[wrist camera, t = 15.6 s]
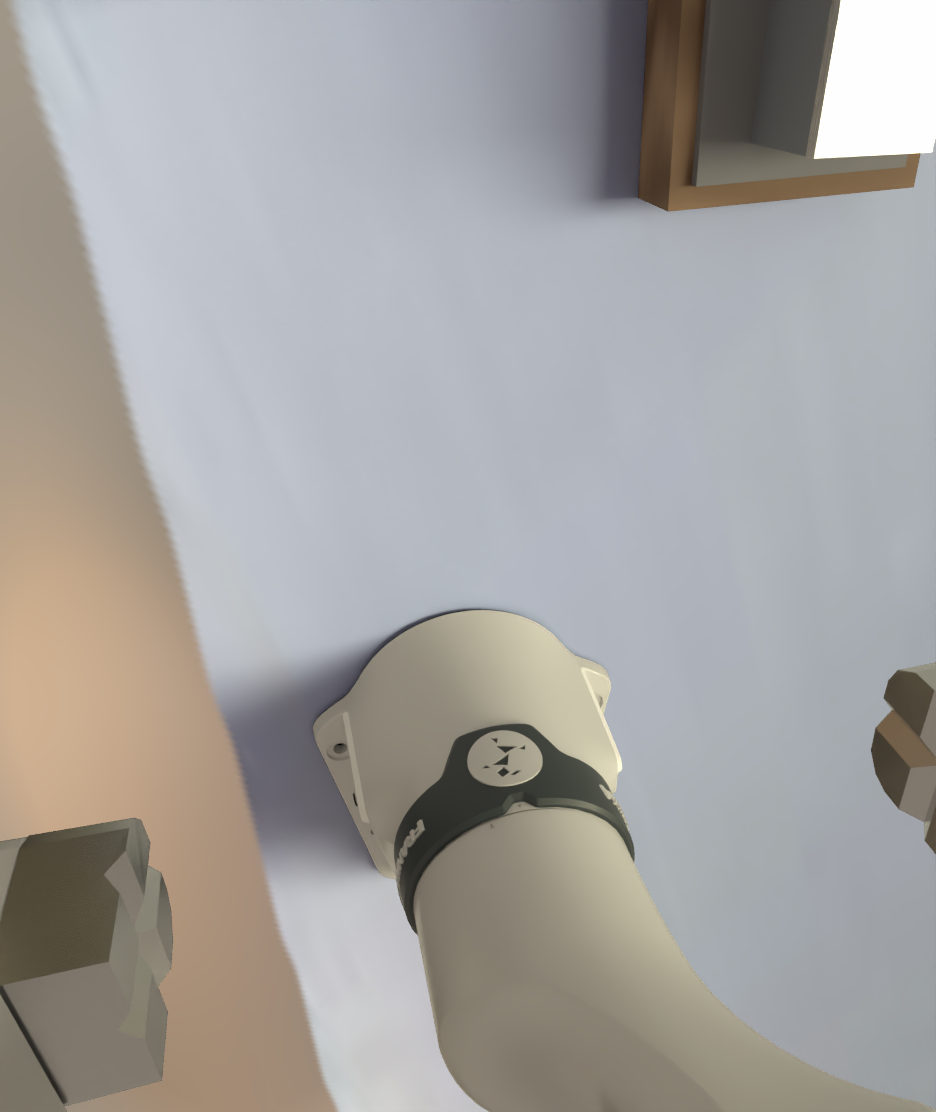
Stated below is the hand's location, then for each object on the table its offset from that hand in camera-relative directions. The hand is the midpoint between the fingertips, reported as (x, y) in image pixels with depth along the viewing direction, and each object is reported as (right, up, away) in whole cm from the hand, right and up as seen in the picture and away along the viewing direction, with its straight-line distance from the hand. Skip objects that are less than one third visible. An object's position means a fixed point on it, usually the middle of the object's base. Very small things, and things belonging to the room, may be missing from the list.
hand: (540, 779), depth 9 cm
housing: (+14, +24, +26) cm, 38 cm away
